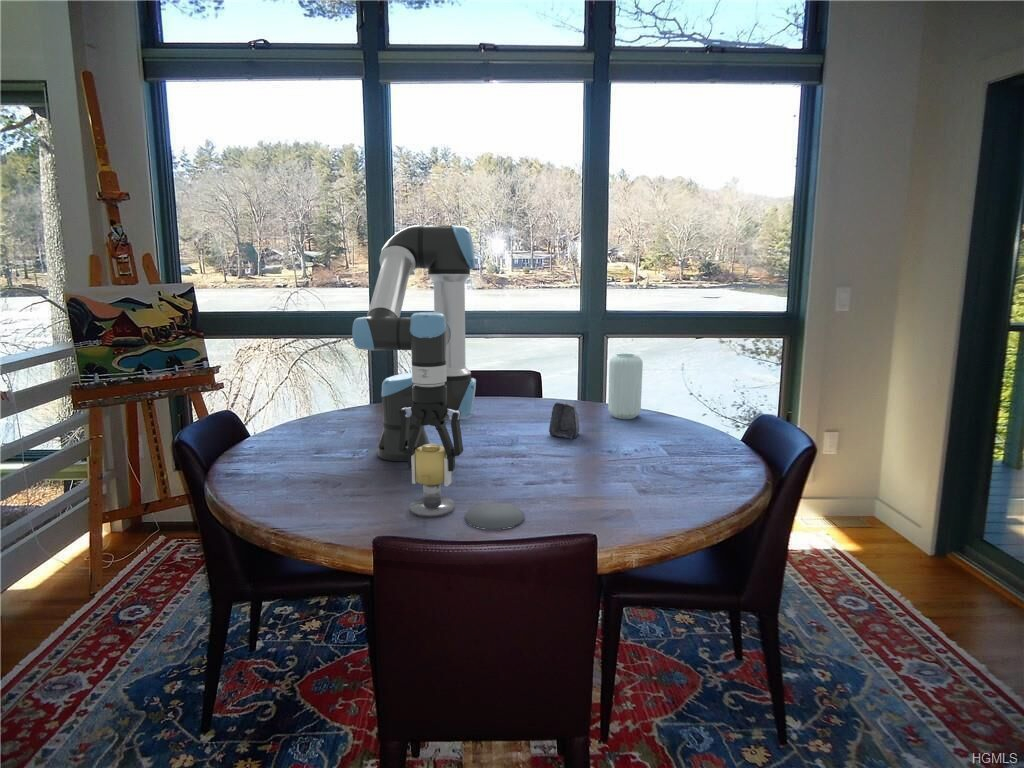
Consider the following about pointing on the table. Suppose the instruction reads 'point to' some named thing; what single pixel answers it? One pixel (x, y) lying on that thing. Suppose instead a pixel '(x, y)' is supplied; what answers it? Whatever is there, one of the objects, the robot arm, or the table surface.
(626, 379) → the vase
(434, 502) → the metal disc with peg
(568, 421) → the stone
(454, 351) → the robot arm
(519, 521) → the rubber mat
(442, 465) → the cap
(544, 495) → the table surface
